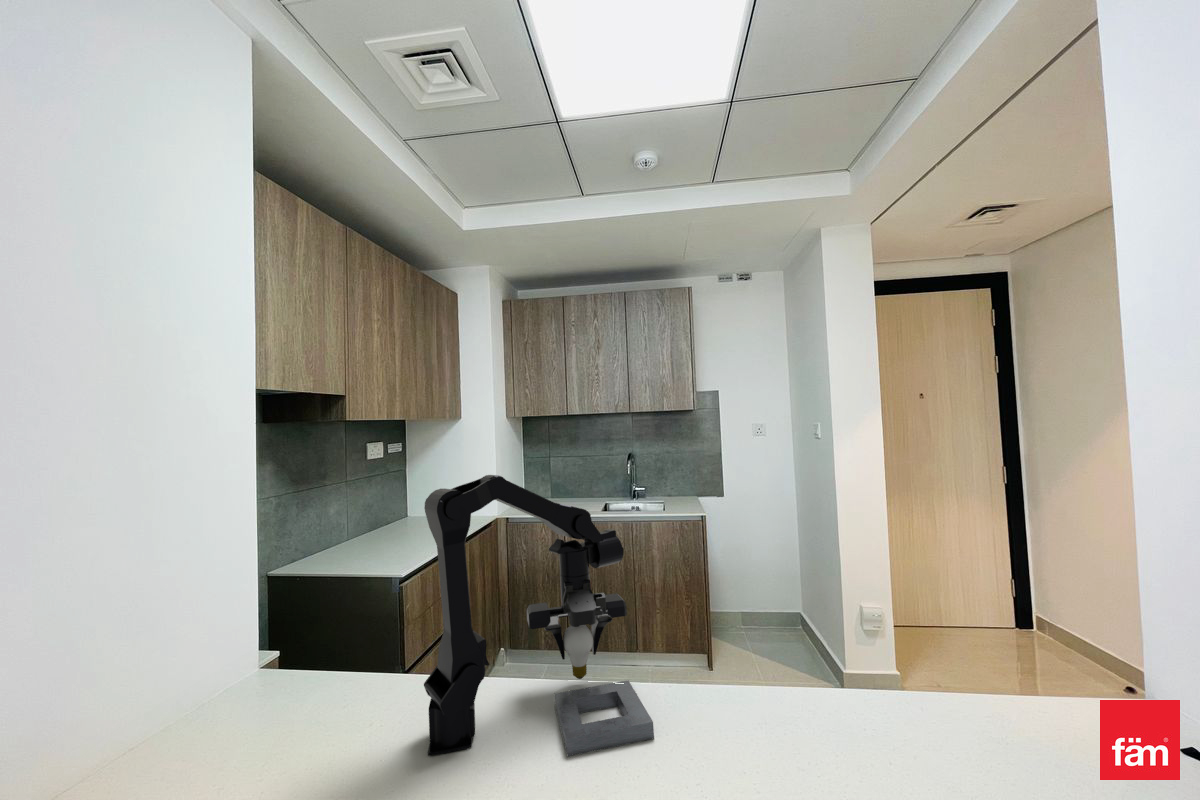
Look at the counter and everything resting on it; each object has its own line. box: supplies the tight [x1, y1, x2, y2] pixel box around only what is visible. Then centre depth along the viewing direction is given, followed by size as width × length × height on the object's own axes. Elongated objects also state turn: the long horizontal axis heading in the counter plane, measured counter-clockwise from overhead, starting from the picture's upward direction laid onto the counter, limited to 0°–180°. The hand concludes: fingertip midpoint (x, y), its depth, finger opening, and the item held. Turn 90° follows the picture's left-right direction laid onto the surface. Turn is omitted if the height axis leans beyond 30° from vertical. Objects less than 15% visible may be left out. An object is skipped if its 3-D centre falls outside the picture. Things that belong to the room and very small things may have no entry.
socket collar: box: [554, 679, 655, 757], centre depth 80 cm, size 14×14×2 cm
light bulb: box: [562, 625, 593, 680], centre depth 93 cm, size 6×6×10 cm
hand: (578, 656), depth 93 cm, fingers closed on light bulb, 6 cm apart
